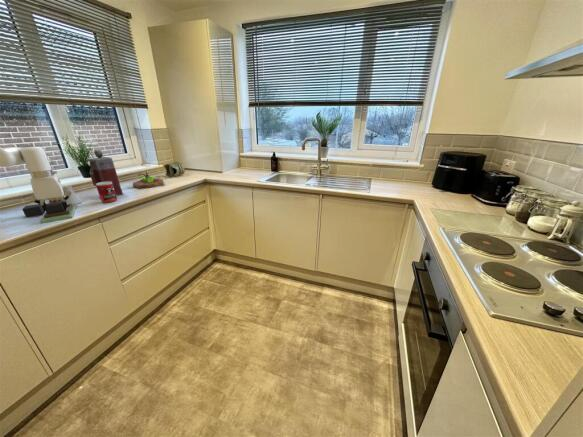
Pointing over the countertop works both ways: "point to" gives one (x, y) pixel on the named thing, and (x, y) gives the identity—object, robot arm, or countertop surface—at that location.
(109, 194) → the canned food
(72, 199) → the flask
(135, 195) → the countertop surface
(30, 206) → the black pad
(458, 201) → the countertop surface
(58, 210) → the black square block
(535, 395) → the countertop surface
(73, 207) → the joiner board
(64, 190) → the robot arm
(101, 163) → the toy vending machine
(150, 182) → the plant
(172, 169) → the piston
